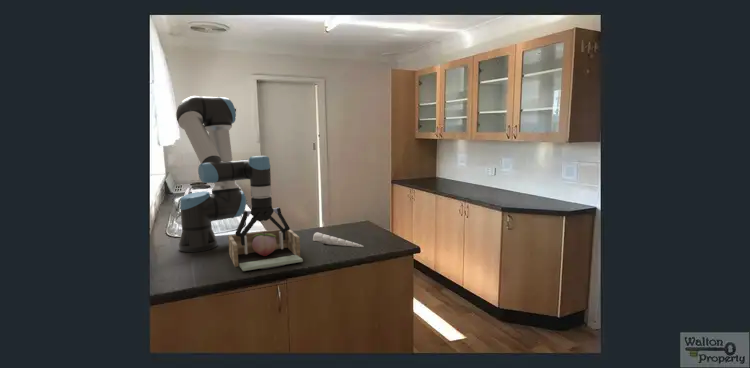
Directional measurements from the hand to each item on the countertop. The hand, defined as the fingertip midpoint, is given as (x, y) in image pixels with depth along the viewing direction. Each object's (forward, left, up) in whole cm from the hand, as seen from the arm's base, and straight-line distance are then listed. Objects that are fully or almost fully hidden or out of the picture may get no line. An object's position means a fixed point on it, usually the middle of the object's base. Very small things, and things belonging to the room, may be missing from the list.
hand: (264, 250), depth 160 cm
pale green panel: (+8, 0, -2) cm, 8 cm away
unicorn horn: (-5, +32, -4) cm, 33 cm away
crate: (0, 0, -3) cm, 3 cm away
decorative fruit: (0, 0, -2) cm, 2 cm away
